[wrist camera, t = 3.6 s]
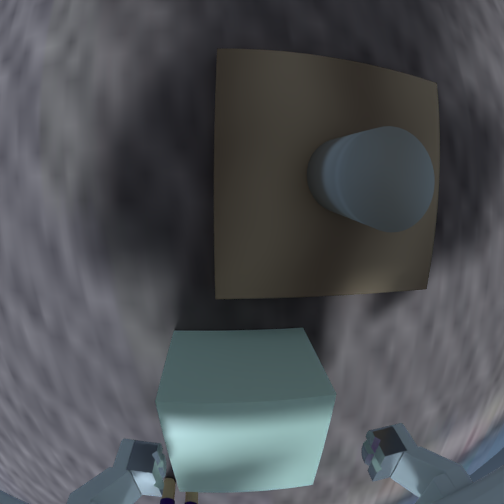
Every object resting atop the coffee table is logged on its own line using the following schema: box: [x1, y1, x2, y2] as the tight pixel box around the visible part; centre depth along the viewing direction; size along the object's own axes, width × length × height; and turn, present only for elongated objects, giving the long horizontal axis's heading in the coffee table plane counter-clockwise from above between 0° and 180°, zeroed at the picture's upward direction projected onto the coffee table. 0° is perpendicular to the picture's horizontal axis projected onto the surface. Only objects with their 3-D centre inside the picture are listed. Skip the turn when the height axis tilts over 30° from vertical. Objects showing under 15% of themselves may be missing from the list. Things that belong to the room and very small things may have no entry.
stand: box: [214, 49, 440, 299], centre depth 10 cm, size 10×10×5 cm
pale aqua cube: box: [155, 328, 336, 492], centre depth 12 cm, size 6×6×5 cm
